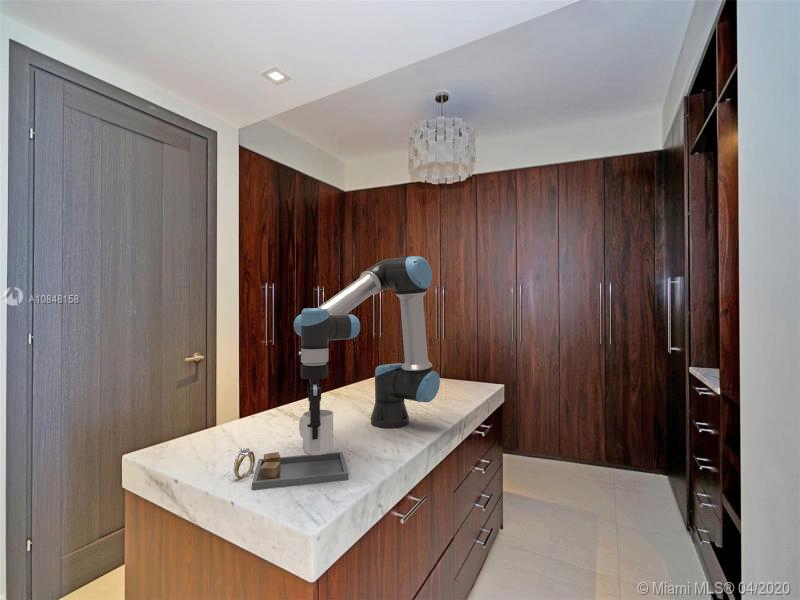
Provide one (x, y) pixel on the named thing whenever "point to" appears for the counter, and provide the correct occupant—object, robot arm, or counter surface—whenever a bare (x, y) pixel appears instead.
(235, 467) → the ring
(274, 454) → the block
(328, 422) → the cup
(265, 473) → the block
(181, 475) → the counter surface
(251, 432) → the counter surface
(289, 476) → the tray
